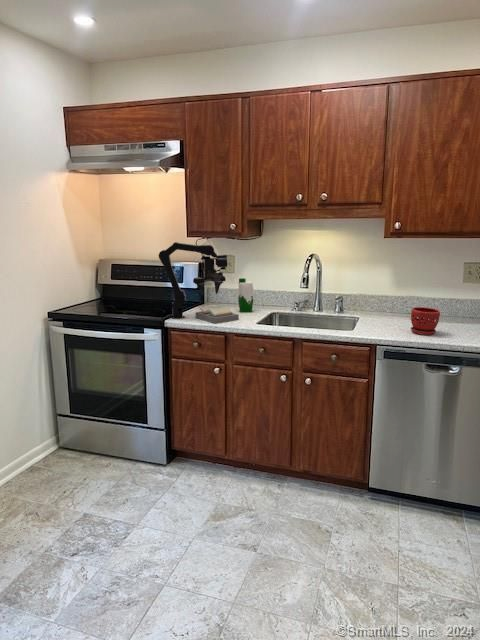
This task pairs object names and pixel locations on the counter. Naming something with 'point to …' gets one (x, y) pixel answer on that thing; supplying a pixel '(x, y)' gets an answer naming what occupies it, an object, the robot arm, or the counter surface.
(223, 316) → the rocker switch panel
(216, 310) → the green rocker
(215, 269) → the robot arm
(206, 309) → the plate
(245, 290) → the milk carton
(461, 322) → the counter surface
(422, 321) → the plant pot
